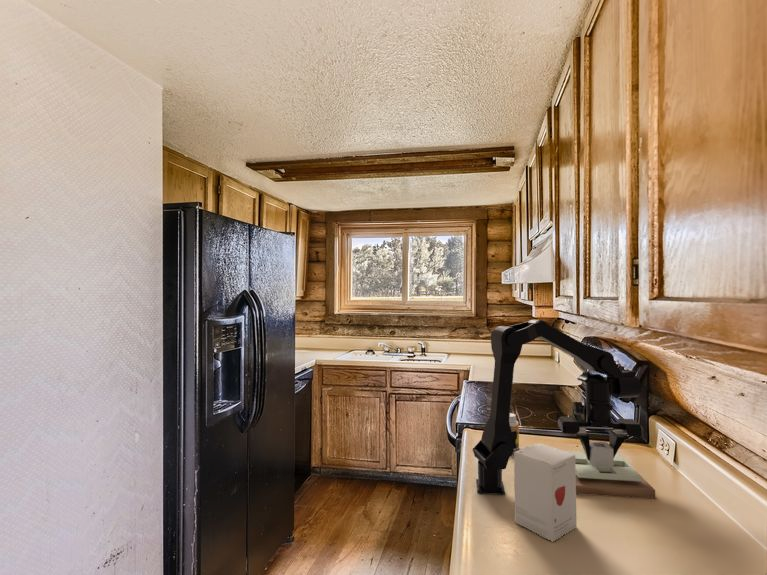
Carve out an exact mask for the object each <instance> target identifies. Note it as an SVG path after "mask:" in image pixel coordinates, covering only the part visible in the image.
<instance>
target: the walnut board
mask: <svg viewBox="0 0 767 575" xmlns="http://www.w3.org/2000/svg"><path fill="white" fill-rule="evenodd" d="M575 464H581V465H587V464H583V463H575ZM614 466H617V467H625V466H619V465H614ZM599 472H600V471H599ZM600 473H611V474H613V473H612V472H600ZM641 478H642V481H626V480H609V479H593V478H578V476H577V475H576V495H588V496H589V495H591V496H602V497H603V496H604V497H605V496H606V497H621V498H634V499H635V498H636V499H648V500H649V499H652V500H656V490H655V488H653V486H652V485H651V484H650V483H649V482H648V481H647V480H646V479H645V478H644V477H643V476H642V475H641Z"/></svg>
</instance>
